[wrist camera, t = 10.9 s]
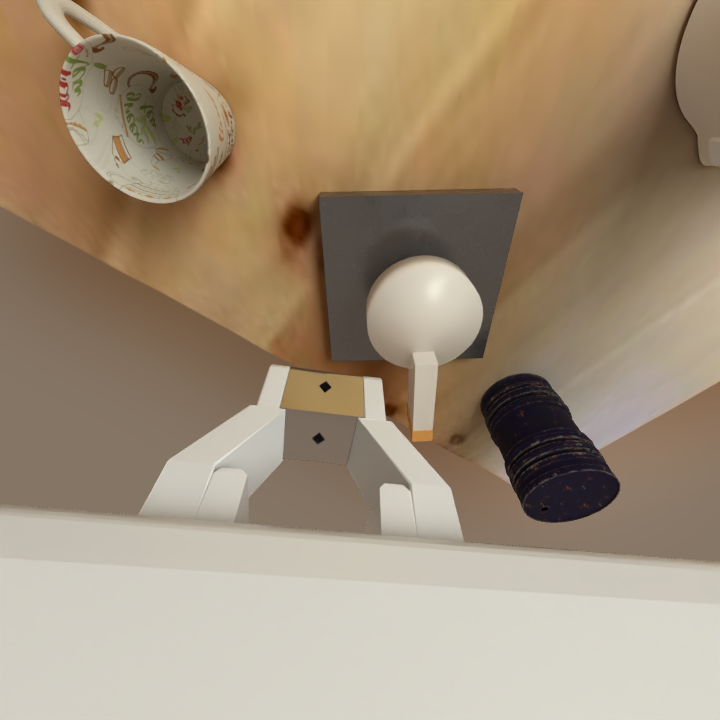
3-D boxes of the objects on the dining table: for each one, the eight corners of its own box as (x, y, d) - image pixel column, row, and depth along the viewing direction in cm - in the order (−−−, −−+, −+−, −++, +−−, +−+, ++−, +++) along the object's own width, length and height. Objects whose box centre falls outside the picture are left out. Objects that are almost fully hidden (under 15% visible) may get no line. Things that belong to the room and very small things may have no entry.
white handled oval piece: (362, 259, 29) (364, 283, 25) (480, 251, 29) (501, 274, 25) (372, 409, 40) (374, 443, 36) (458, 404, 40) (470, 438, 36)
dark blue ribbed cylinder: (532, 360, 43) (601, 455, 31) (564, 400, 48) (635, 498, 36) (465, 399, 47) (504, 498, 35) (501, 434, 52) (545, 532, 40)
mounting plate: (514, 188, 32) (542, 202, 27) (477, 348, 42) (493, 378, 38) (320, 192, 31) (314, 206, 27) (332, 351, 42) (330, 381, 37)
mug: (212, 200, 32) (164, 230, 24) (72, 66, 26) (-54, 47, 18) (270, 129, 29) (238, 136, 21) (125, -41, 23) (1, -122, 15)
